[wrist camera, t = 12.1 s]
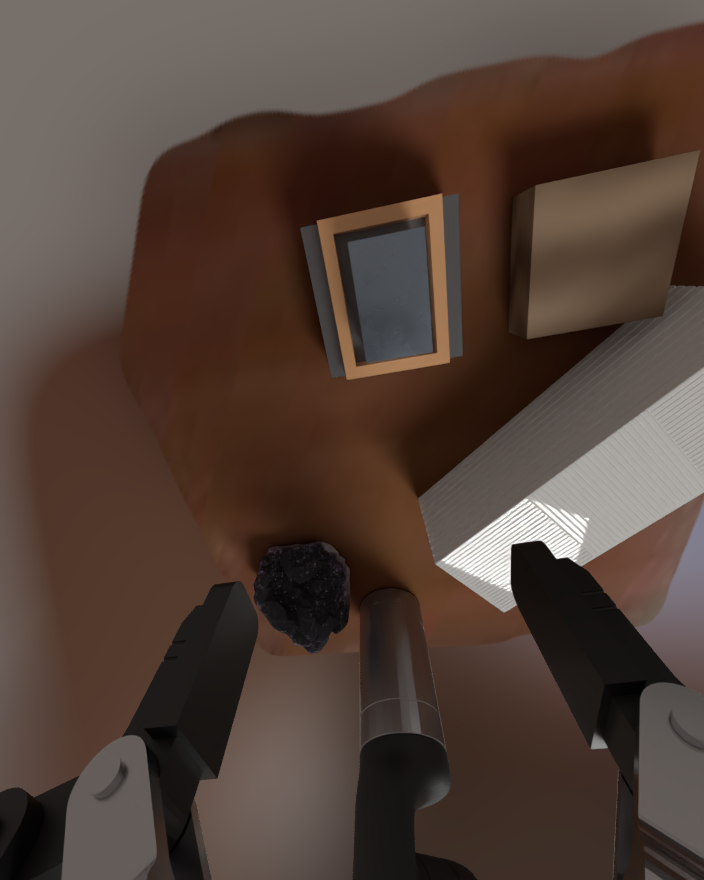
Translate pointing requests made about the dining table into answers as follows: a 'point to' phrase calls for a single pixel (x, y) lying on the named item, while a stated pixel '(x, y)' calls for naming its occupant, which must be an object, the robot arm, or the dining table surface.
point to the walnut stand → (597, 246)
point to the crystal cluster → (304, 592)
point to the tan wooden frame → (338, 291)
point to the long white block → (582, 456)
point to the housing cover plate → (392, 294)
